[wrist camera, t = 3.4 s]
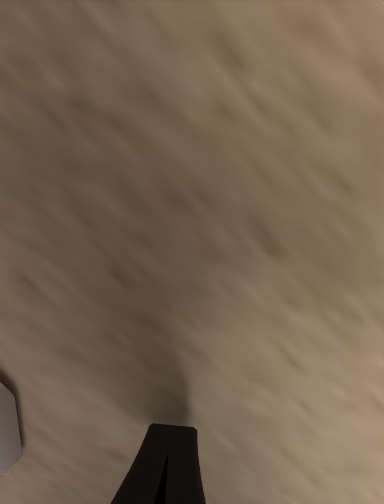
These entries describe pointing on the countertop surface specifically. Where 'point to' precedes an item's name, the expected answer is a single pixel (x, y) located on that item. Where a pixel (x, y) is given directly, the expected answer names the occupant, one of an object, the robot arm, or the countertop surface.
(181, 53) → the countertop surface
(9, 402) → the flask
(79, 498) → the countertop surface
